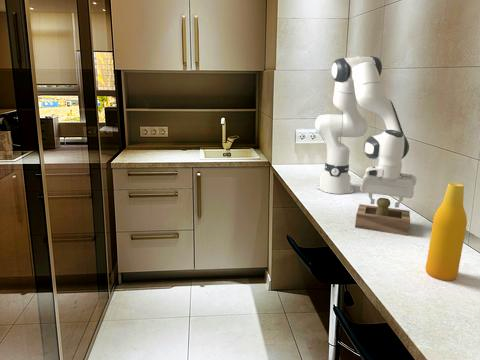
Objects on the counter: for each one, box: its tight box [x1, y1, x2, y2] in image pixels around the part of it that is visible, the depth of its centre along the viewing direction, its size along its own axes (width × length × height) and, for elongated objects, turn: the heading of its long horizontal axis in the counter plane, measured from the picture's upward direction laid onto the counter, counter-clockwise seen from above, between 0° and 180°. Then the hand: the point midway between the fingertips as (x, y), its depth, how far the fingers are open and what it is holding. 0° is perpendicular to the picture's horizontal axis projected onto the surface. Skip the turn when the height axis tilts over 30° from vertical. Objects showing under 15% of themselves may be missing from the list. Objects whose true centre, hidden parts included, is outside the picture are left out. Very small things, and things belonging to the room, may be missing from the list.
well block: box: [354, 203, 411, 236], centre depth 179 cm, size 15×20×6 cm
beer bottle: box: [425, 182, 468, 281], centre depth 134 cm, size 9×9×29 cm
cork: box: [375, 197, 391, 216], centre depth 178 cm, size 6×6×11 cm
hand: (384, 205), depth 178 cm, fingers open, 8 cm apart
